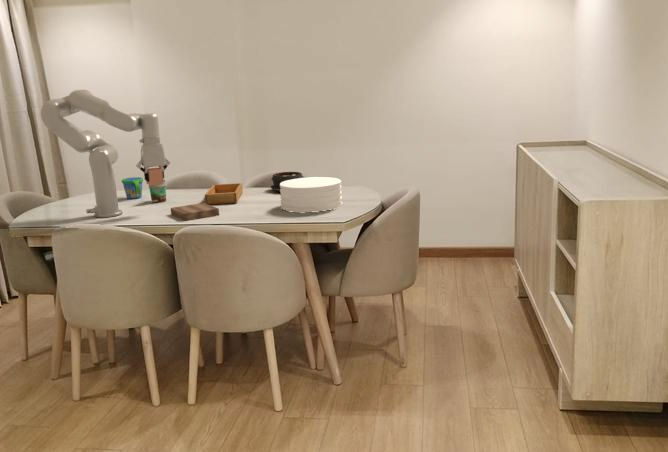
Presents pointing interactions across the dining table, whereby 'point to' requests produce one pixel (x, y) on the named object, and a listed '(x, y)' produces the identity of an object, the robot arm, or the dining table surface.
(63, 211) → the dining table surface
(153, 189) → the food container
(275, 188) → the casserole
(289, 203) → the plate stack
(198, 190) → the dining table surface
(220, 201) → the tray
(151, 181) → the terracotta block
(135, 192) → the snack cup
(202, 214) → the walnut base
